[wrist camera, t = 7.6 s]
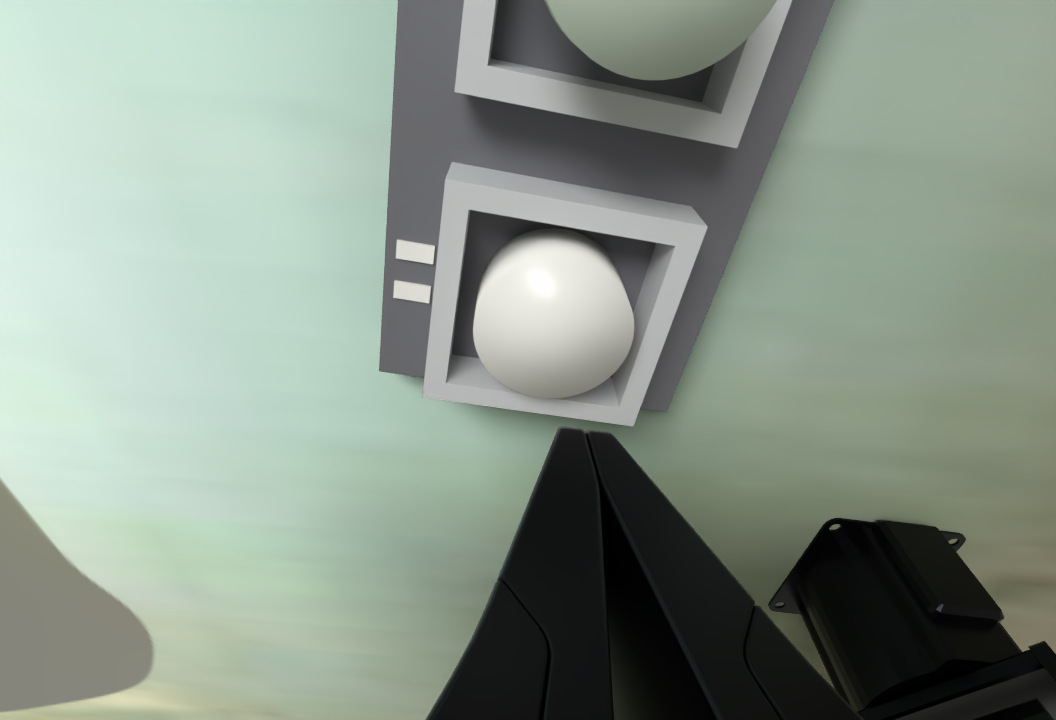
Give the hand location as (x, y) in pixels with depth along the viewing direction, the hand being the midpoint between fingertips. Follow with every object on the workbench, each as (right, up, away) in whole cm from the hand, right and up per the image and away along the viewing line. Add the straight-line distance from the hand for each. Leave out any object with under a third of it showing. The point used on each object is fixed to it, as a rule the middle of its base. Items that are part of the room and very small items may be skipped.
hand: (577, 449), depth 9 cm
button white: (0, +3, +7) cm, 7 cm away
